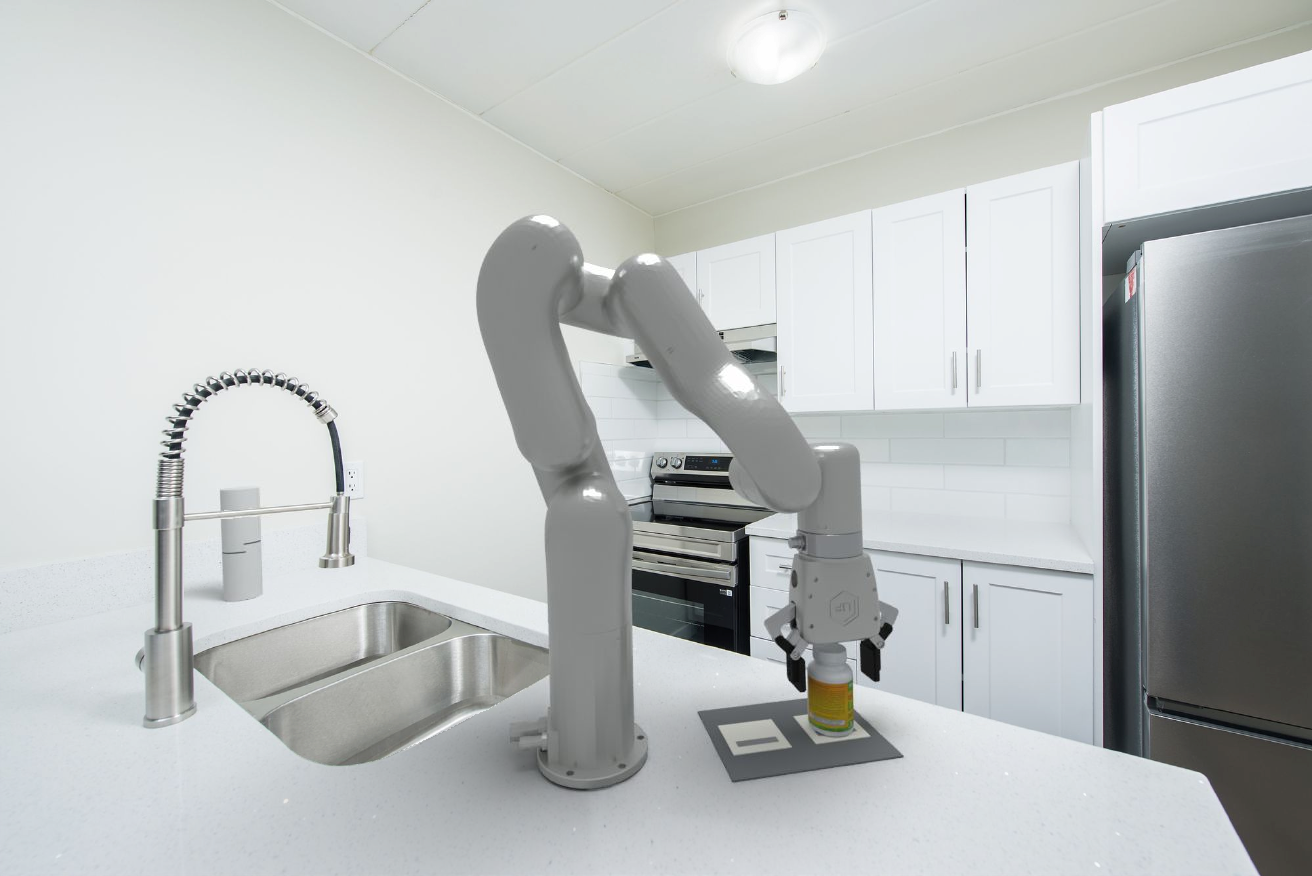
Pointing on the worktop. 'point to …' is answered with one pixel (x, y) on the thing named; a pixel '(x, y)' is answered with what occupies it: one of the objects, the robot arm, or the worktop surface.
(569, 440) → the robot arm
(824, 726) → the supplement bottle
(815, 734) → the label mat
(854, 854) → the worktop surface
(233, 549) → the cylindrical container
